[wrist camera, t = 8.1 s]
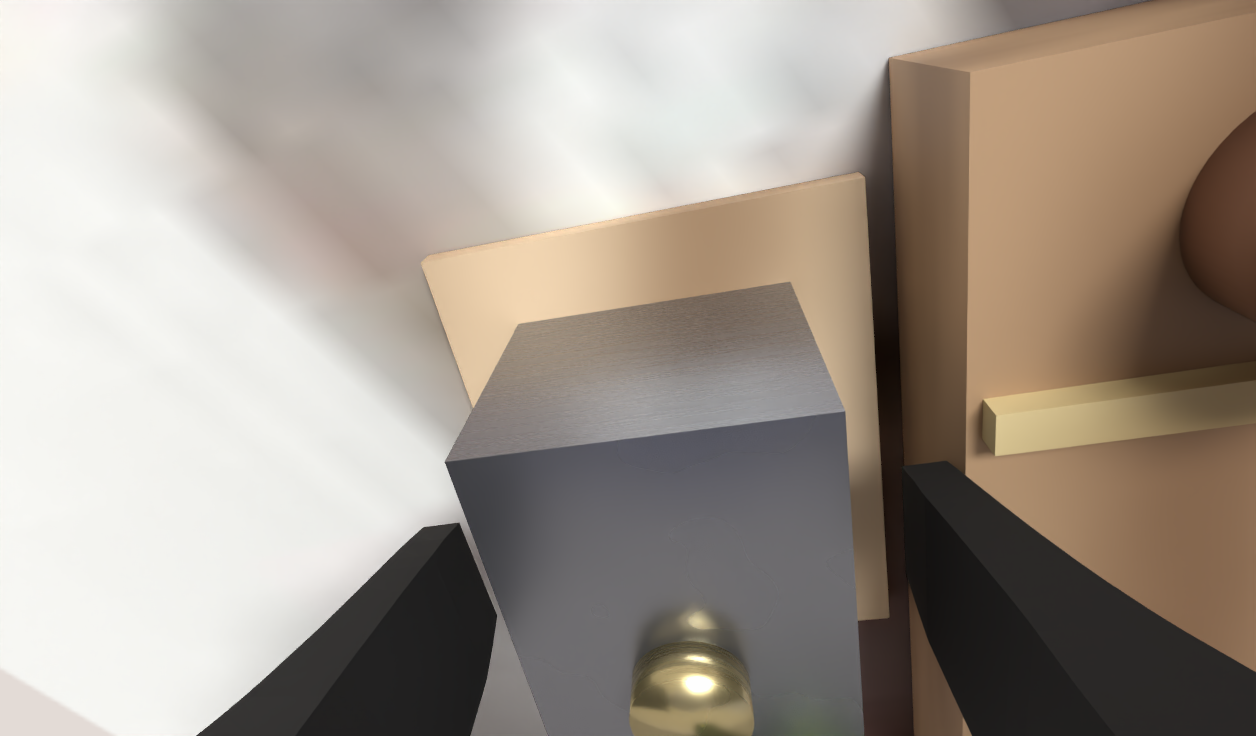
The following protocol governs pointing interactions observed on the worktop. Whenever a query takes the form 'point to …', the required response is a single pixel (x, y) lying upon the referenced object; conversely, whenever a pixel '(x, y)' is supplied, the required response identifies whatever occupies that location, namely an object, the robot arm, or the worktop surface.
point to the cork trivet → (693, 266)
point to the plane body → (1089, 300)
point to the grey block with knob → (670, 519)
